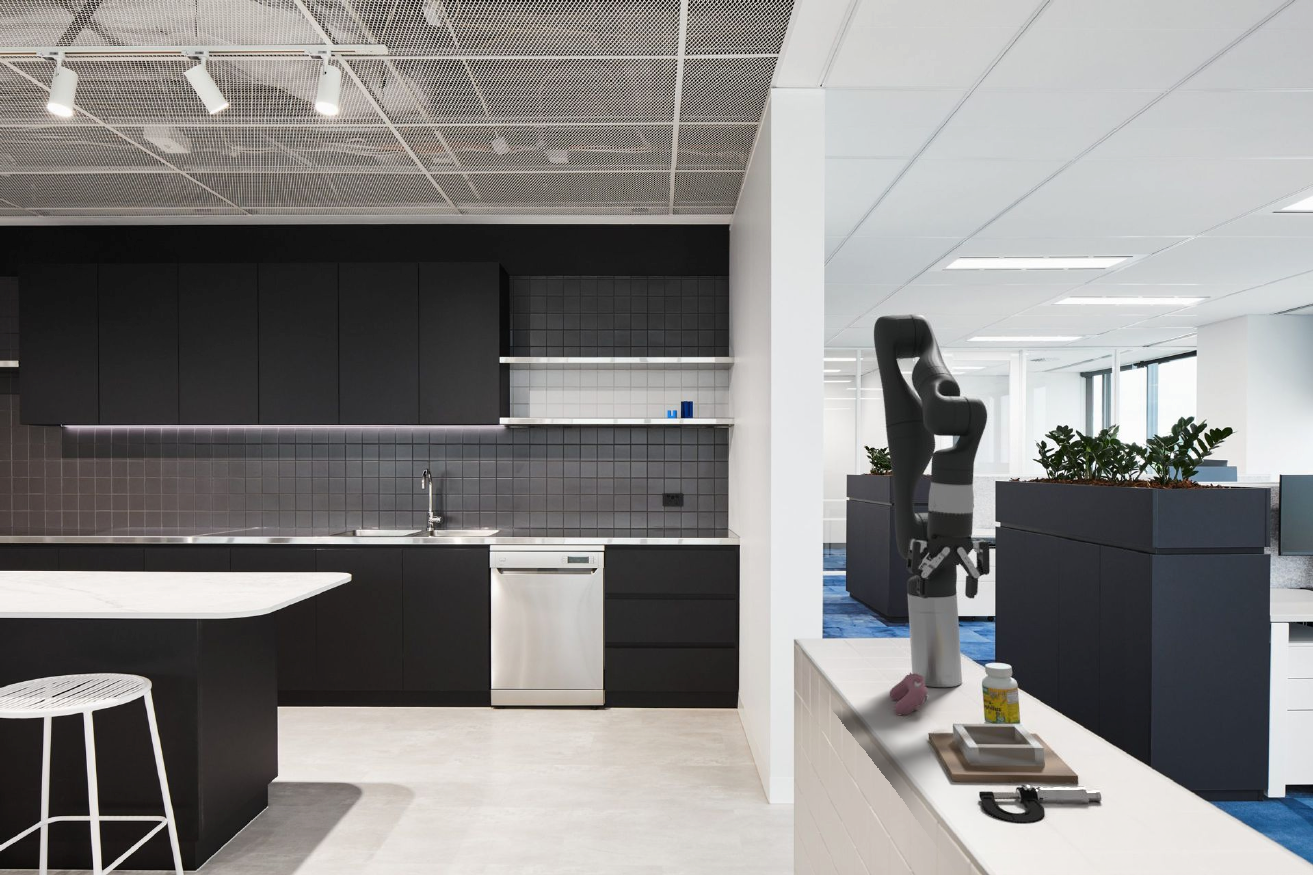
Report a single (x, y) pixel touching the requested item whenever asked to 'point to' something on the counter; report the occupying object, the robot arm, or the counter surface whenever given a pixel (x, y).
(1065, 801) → the micrometer
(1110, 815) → the counter surface
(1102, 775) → the counter surface
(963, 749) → the socket board
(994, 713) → the supplement bottle
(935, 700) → the counter surface
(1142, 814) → the counter surface
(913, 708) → the video game controller
